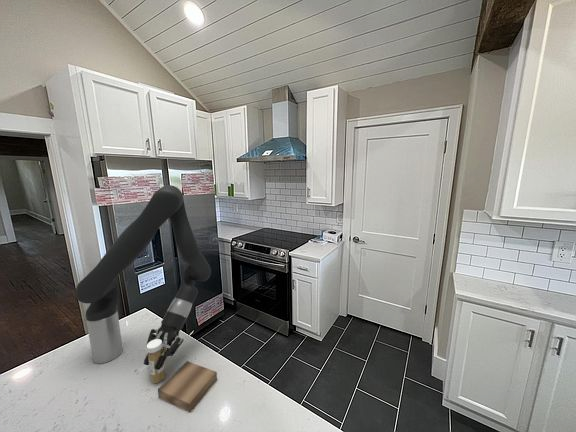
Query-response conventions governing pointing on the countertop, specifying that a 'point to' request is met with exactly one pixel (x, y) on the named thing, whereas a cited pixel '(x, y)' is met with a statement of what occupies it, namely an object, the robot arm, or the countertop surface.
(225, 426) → the countertop surface
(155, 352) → the sprinkles bottle
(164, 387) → the walnut dock
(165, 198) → the robot arm
